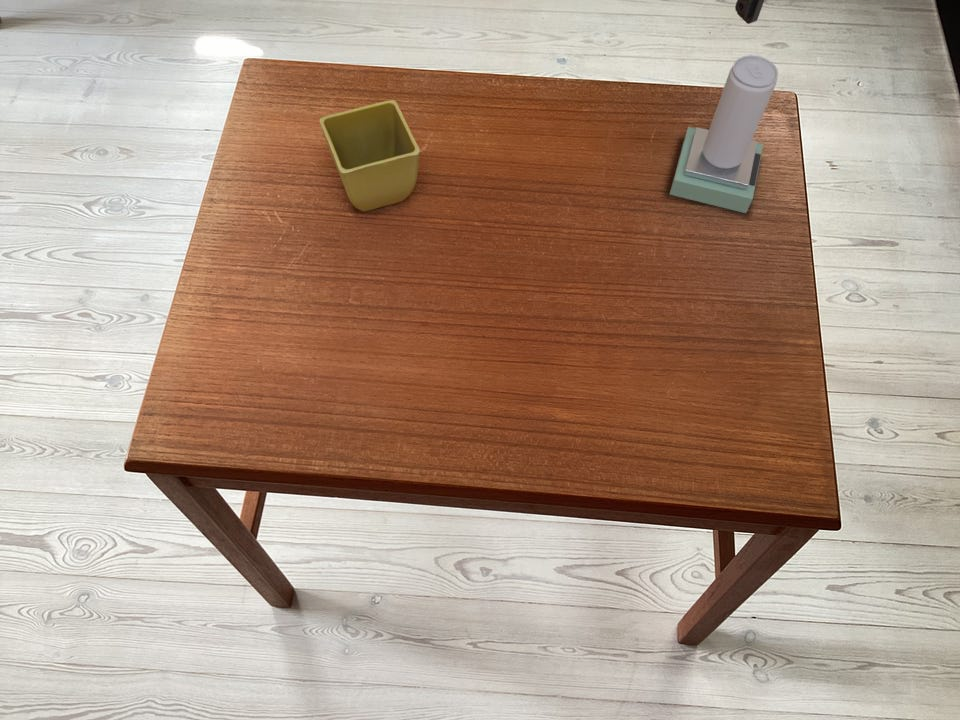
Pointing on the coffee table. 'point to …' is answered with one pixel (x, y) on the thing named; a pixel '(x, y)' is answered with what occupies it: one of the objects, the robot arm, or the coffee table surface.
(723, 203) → the scale
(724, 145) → the beverage can
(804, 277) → the coffee table surface
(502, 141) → the coffee table surface
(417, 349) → the coffee table surface
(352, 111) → the flower pot
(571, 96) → the coffee table surface
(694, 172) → the scale pan
